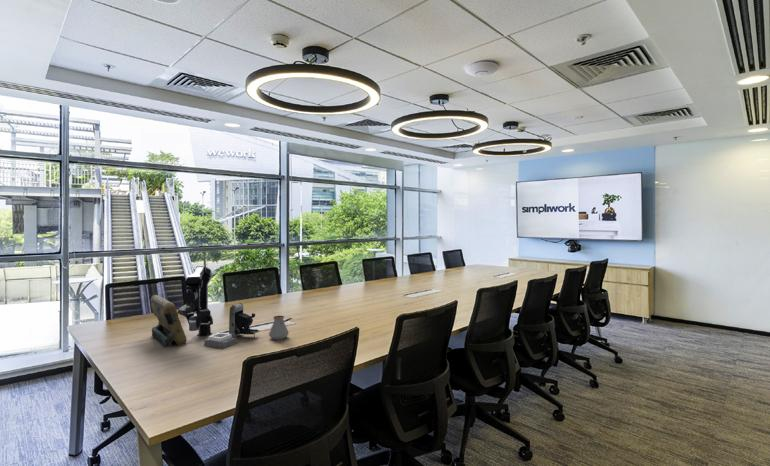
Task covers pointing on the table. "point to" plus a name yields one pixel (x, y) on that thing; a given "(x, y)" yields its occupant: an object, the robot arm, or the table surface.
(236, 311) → the vintage camera
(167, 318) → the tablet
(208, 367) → the table surface
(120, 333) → the table surface
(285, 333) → the coffee pot
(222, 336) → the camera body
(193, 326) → the lens
